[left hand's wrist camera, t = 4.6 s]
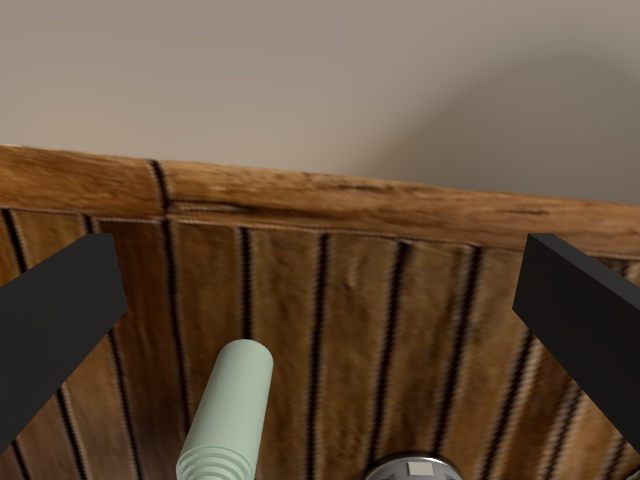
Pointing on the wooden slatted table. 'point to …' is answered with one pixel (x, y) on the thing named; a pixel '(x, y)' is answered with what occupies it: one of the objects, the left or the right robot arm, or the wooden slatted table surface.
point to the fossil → (635, 476)
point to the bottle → (229, 416)
